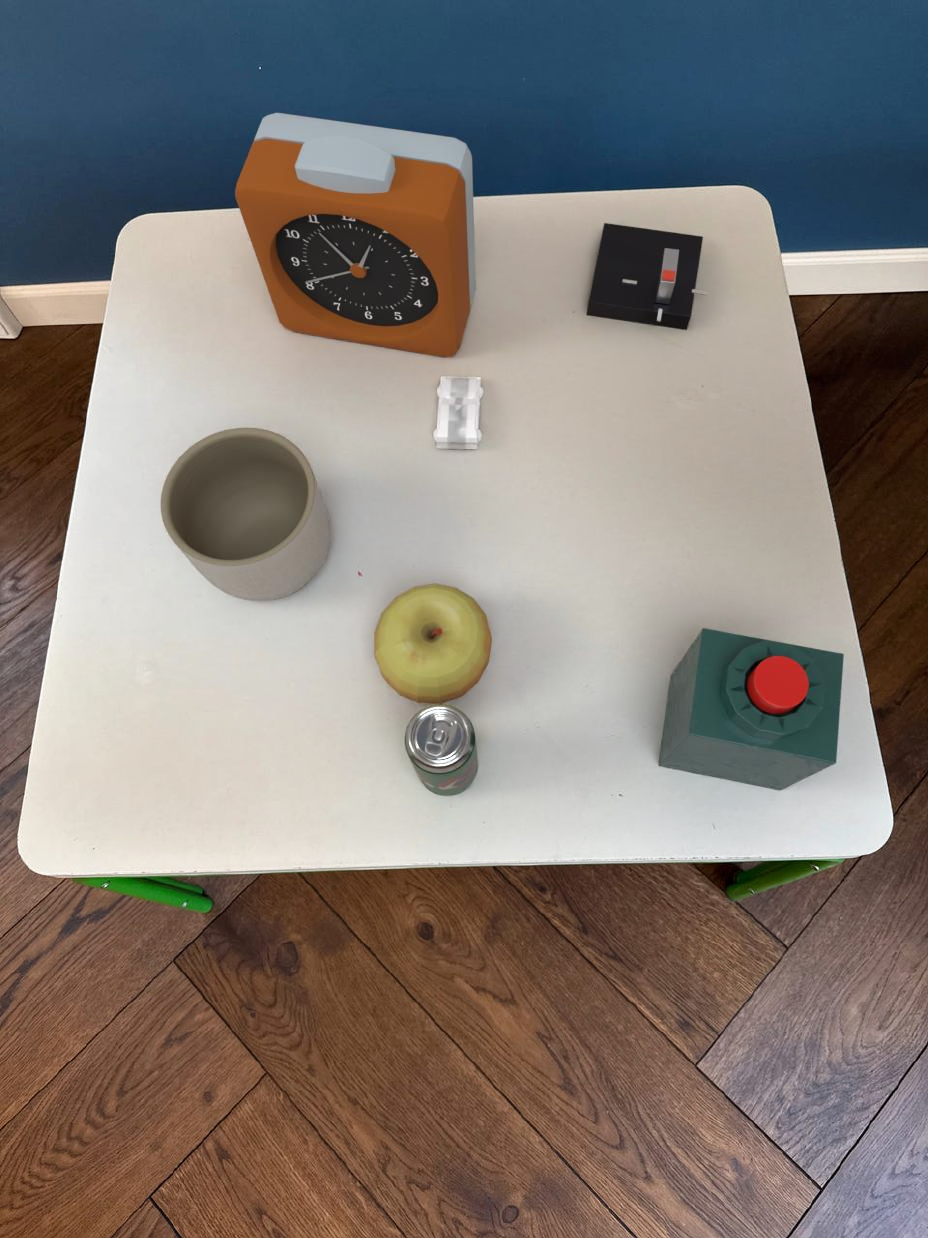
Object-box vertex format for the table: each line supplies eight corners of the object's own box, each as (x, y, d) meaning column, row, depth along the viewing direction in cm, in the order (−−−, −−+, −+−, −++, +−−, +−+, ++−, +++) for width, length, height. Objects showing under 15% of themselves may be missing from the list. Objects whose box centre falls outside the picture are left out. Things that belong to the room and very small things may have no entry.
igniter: (789, 697, 73) (854, 645, 60) (781, 790, 71) (846, 758, 58) (670, 674, 74) (708, 619, 61) (658, 766, 72) (694, 728, 59)
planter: (363, 524, 80) (344, 464, 70) (292, 638, 77) (261, 592, 66) (251, 470, 82) (216, 404, 72) (176, 578, 79) (129, 524, 69)
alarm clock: (280, 332, 88) (219, 163, 68) (304, 264, 91) (252, 82, 71) (458, 362, 86) (448, 197, 66) (477, 291, 89) (473, 113, 69)
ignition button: (802, 668, 60) (810, 661, 58) (798, 718, 59) (806, 712, 57) (749, 658, 61) (756, 651, 59) (744, 708, 59) (751, 701, 58)
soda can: (486, 747, 73) (484, 713, 61) (466, 805, 71) (461, 781, 60) (429, 728, 73) (417, 691, 62) (408, 785, 72) (392, 758, 61)
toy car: (432, 453, 82) (430, 440, 80) (437, 381, 85) (435, 367, 83) (481, 454, 82) (481, 442, 80) (485, 382, 85) (484, 368, 83)
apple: (500, 703, 74) (501, 677, 66) (387, 721, 74) (375, 697, 66) (482, 597, 77) (480, 560, 70) (373, 614, 77) (360, 579, 70)
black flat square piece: (709, 252, 89) (714, 236, 87) (696, 340, 86) (701, 326, 84) (601, 237, 90) (604, 221, 88) (584, 324, 87) (586, 309, 85)
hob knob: (659, 270, 86) (665, 245, 83) (673, 271, 86) (679, 247, 83) (654, 302, 85) (660, 279, 82) (669, 304, 85) (675, 281, 82)
